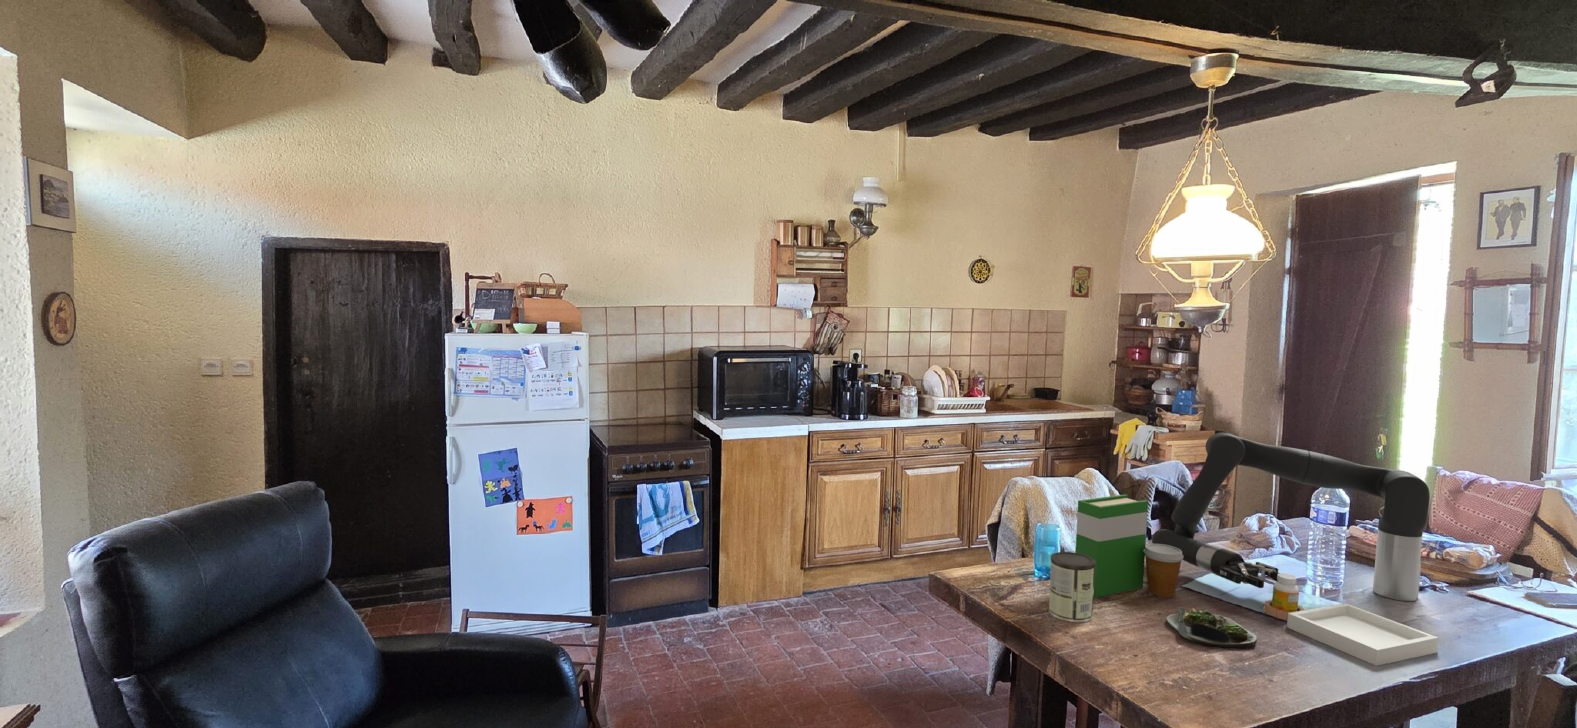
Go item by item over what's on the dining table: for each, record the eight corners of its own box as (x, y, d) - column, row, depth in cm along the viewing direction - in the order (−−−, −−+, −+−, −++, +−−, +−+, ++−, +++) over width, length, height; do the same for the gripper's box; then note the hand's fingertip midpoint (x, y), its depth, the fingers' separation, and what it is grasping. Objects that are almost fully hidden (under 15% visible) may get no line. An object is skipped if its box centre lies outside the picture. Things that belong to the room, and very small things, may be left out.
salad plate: (1146, 613, 187) (1147, 595, 186) (1218, 615, 187) (1219, 597, 187) (1188, 649, 168) (1189, 629, 167) (1268, 651, 168) (1269, 631, 167)
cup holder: (1280, 605, 193) (1280, 598, 193) (1312, 618, 185) (1313, 611, 185) (1256, 609, 190) (1256, 602, 190) (1288, 622, 182) (1288, 615, 182)
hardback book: (1120, 578, 210) (1125, 494, 208) (1143, 587, 203) (1148, 500, 201) (1073, 587, 202) (1078, 500, 200) (1095, 597, 196) (1100, 507, 194)
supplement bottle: (1266, 609, 190) (1268, 572, 189) (1286, 609, 190) (1288, 571, 190) (1281, 618, 185) (1284, 580, 184) (1302, 618, 185) (1305, 579, 184)
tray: (1344, 616, 186) (1346, 603, 186) (1437, 652, 167) (1438, 637, 167) (1286, 627, 180) (1287, 612, 179) (1376, 665, 161) (1377, 649, 160)
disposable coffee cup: (1186, 601, 194) (1188, 556, 193) (1146, 597, 196) (1149, 553, 195) (1175, 587, 204) (1177, 544, 203) (1137, 584, 206) (1139, 541, 205)
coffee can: (1058, 602, 192) (1061, 548, 191) (1099, 614, 185) (1102, 558, 184) (1040, 613, 185) (1043, 558, 184) (1082, 626, 178) (1085, 568, 177)
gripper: (1200, 550, 202) (1255, 570, 187) (1239, 545, 207) (1296, 565, 192) (1198, 577, 203) (1253, 600, 188) (1238, 572, 208) (1294, 593, 192)
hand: (1275, 582), depth 190 cm, fingers open, 8 cm apart
